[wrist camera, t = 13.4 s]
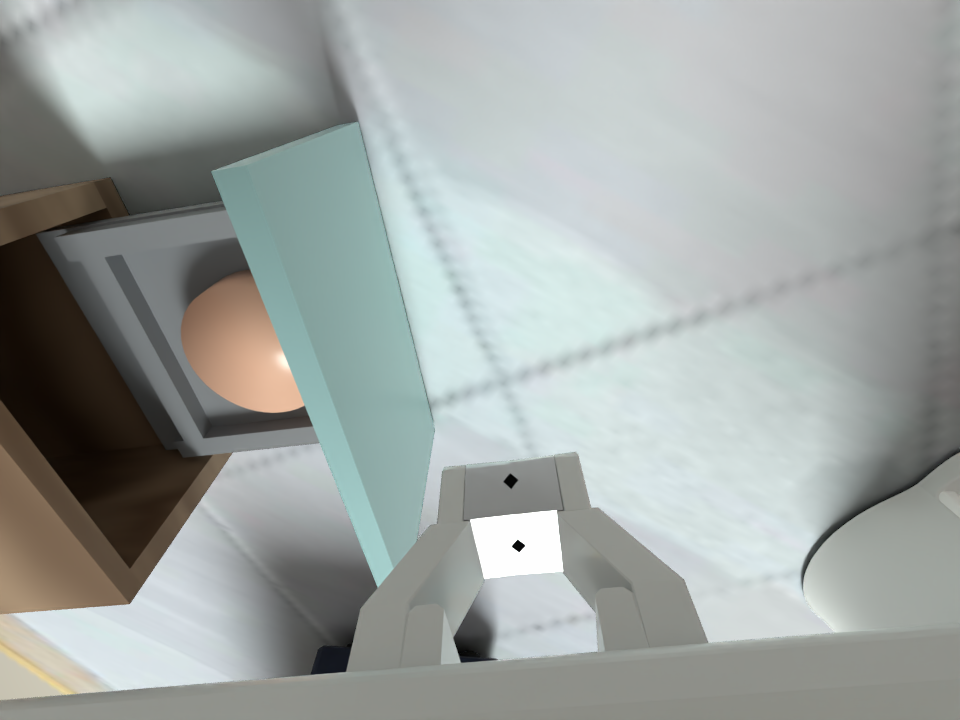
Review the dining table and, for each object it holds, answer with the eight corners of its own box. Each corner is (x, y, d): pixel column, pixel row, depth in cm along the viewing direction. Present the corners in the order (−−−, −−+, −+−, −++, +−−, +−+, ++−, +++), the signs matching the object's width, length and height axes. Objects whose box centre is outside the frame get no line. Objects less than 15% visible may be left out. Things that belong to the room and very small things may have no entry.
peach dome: (300, 252, 20) (284, 266, 18) (361, 376, 23) (352, 396, 21) (173, 290, 21) (150, 306, 20) (247, 404, 24) (230, 424, 22)
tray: (358, 121, 19) (246, 165, 11) (434, 429, 27) (406, 603, 18) (42, 175, 20) (-287, 253, 12) (200, 455, 28) (68, 628, 19)
